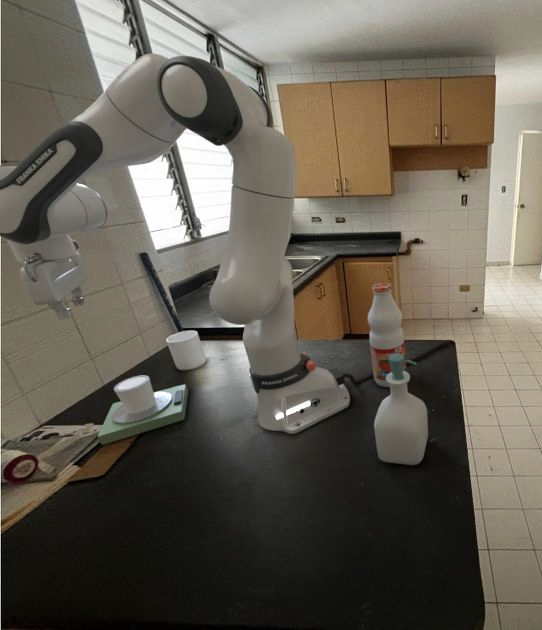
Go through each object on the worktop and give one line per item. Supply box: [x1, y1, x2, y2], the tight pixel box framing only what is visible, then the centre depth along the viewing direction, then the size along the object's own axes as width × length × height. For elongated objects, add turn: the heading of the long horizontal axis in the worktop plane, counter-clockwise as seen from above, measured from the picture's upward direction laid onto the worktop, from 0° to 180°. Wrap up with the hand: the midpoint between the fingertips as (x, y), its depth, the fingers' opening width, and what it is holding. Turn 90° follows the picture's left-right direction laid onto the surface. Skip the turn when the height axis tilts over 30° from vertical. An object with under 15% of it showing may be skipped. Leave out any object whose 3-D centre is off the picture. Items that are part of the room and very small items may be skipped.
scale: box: [97, 383, 189, 446], centre depth 85 cm, size 16×14×3 cm
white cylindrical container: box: [113, 374, 156, 414], centre depth 82 cm, size 7×7×7 cm
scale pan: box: [112, 391, 172, 424], centre depth 84 cm, size 12×12×1 cm
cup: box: [165, 330, 207, 371], centre depth 107 cm, size 8×12×10 cm
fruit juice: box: [367, 282, 408, 388], centre depth 90 cm, size 9×9×28 cm
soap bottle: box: [373, 354, 429, 466], centre depth 66 cm, size 10×10×23 cm
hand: (73, 310), depth 76 cm, fingers open, 8 cm apart
